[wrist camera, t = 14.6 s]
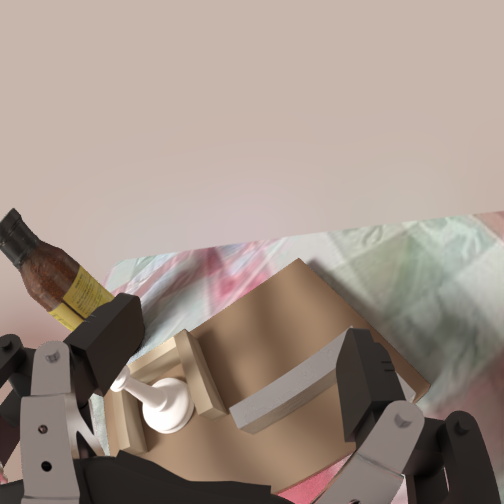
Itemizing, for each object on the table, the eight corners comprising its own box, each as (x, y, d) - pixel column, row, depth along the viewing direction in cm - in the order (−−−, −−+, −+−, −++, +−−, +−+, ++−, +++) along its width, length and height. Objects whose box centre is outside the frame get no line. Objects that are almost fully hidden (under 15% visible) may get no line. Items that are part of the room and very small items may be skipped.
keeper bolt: (355, 340, 17) (351, 325, 16) (412, 401, 12) (416, 393, 11) (243, 415, 16) (228, 408, 15) (282, 489, 11) (269, 490, 10)
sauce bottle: (139, 311, 32) (30, 190, 20) (152, 340, 27) (17, 199, 16) (105, 343, 30) (-7, 232, 19) (114, 375, 26) (-24, 251, 14)
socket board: (303, 268, 26) (291, 241, 24) (427, 391, 13) (435, 374, 11) (112, 392, 24) (88, 377, 22) (142, 531, 11) (109, 529, 9)
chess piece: (153, 441, 17) (44, 389, 11) (143, 394, 20) (53, 332, 15) (202, 419, 17) (93, 356, 11) (185, 370, 21) (96, 297, 15)
